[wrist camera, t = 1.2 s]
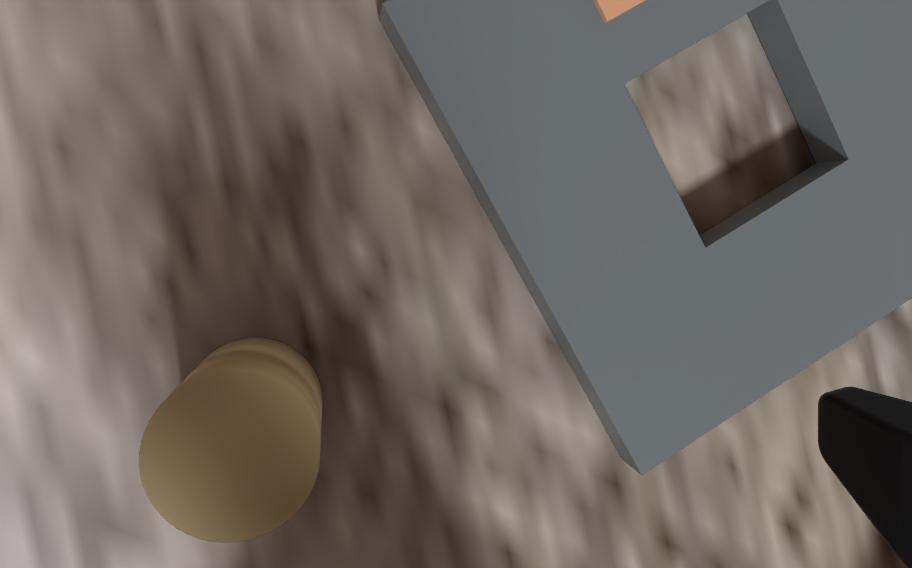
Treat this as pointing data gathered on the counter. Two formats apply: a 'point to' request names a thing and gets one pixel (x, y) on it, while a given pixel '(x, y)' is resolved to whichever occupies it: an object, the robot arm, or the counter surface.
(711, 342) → the hole plate
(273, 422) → the peg
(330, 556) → the counter surface
